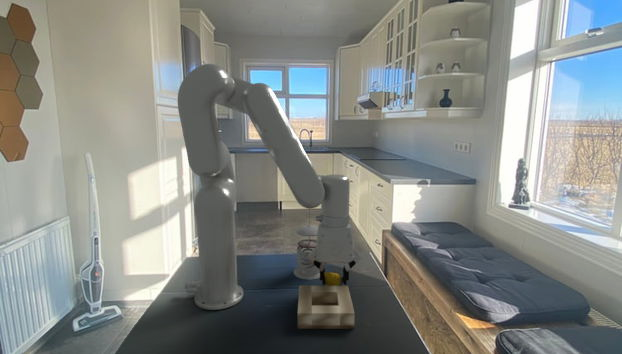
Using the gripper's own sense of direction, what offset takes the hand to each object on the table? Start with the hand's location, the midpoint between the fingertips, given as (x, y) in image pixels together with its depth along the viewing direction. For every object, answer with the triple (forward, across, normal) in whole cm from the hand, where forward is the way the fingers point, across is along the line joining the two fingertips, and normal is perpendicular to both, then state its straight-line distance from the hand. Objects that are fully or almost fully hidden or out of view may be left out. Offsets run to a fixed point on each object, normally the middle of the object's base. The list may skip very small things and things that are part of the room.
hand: (334, 281), depth 93 cm
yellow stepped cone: (+3, 0, 0) cm, 3 cm away
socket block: (+3, -3, -11) cm, 12 cm away
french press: (+3, -6, +12) cm, 14 cm away
